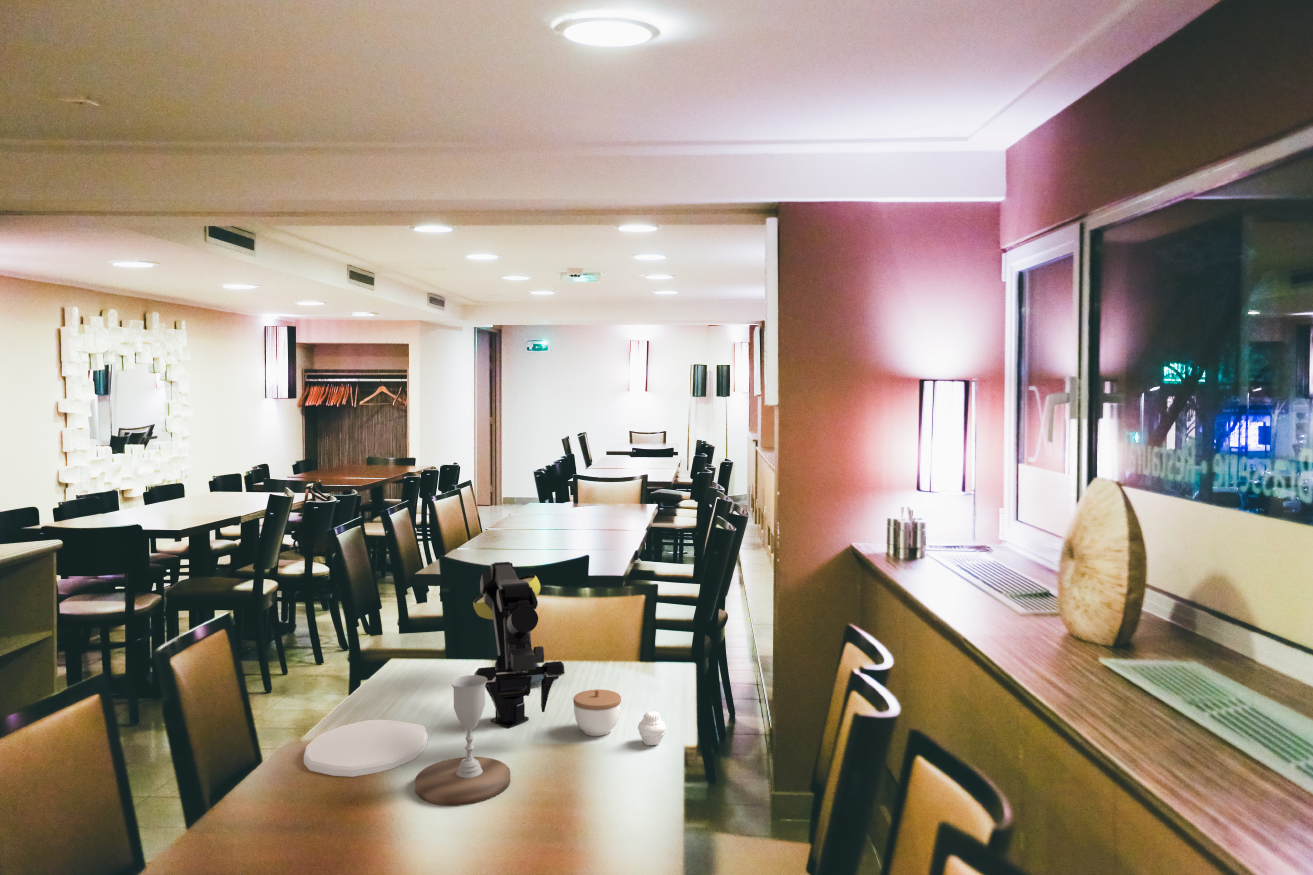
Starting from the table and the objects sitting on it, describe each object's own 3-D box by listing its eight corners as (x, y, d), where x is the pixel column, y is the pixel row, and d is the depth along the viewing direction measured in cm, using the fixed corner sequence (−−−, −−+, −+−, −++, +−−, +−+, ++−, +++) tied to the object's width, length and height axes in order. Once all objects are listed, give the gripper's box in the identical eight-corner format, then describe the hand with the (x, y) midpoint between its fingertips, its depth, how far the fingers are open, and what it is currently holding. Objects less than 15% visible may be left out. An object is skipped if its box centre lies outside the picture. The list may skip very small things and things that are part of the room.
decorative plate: (358, 706, 194) (449, 720, 185) (358, 723, 194) (449, 738, 185) (274, 746, 170) (374, 764, 162) (275, 766, 170) (375, 786, 162)
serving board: (395, 787, 160) (395, 779, 160) (468, 756, 175) (468, 749, 174) (456, 814, 149) (456, 806, 149) (529, 779, 164) (529, 771, 164)
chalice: (467, 761, 168) (467, 673, 168) (495, 768, 165) (494, 677, 165) (443, 775, 162) (443, 683, 161) (471, 782, 159) (471, 688, 158)
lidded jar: (614, 741, 183) (614, 699, 182) (567, 737, 185) (567, 695, 184) (625, 724, 193) (625, 683, 193) (581, 720, 195) (581, 680, 195)
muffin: (669, 739, 184) (669, 708, 184) (660, 750, 178) (660, 717, 178) (643, 736, 186) (643, 704, 186) (633, 746, 180) (633, 714, 180)
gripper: (478, 637, 173) (481, 716, 168) (566, 631, 179) (572, 706, 174) (473, 645, 183) (475, 719, 178) (557, 638, 189) (562, 710, 184)
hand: (521, 714), depth 178 cm, fingers open, 9 cm apart
